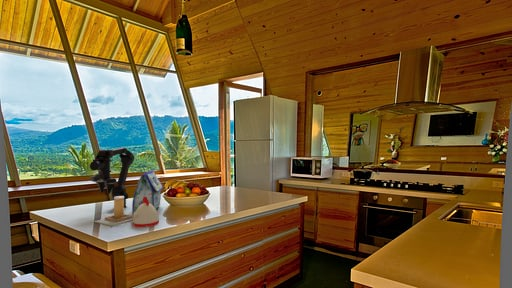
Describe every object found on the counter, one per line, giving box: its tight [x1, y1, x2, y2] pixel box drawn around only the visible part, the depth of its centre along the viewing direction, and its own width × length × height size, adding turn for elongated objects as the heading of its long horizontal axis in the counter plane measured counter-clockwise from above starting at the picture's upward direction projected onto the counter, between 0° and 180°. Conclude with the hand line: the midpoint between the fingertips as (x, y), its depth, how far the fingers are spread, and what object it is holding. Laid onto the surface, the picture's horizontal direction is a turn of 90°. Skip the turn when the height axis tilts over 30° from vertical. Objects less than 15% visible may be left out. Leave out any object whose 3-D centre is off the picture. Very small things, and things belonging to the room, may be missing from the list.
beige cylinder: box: [113, 196, 125, 219], centre depth 168 cm, size 6×6×13 cm
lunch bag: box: [131, 170, 164, 215], centre depth 192 cm, size 22×17×26 cm
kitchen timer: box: [132, 197, 160, 228], centre depth 162 cm, size 14×14×15 cm
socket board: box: [94, 213, 133, 227], centre depth 168 cm, size 20×16×2 cm
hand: (105, 193), depth 183 cm, fingers open, 9 cm apart
